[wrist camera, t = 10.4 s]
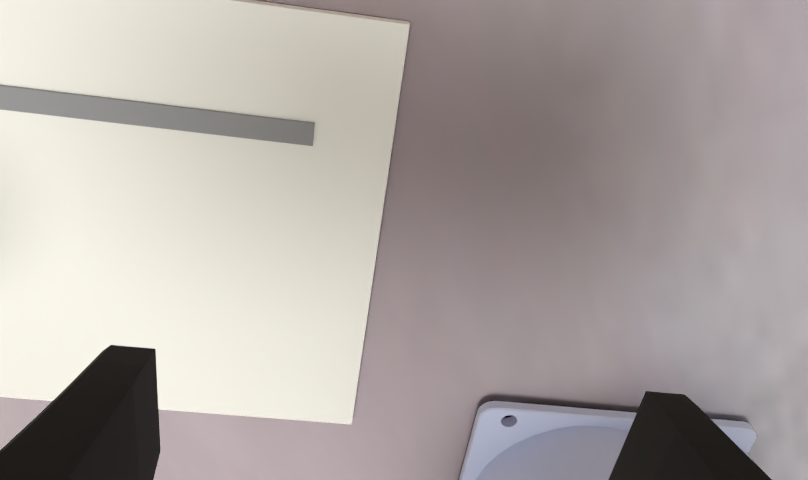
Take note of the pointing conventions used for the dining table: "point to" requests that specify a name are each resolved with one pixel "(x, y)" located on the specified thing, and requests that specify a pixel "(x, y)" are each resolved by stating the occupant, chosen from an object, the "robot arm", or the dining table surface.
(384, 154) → the paper
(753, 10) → the dining table surface
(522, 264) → the dining table surface
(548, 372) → the dining table surface
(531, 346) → the dining table surface
